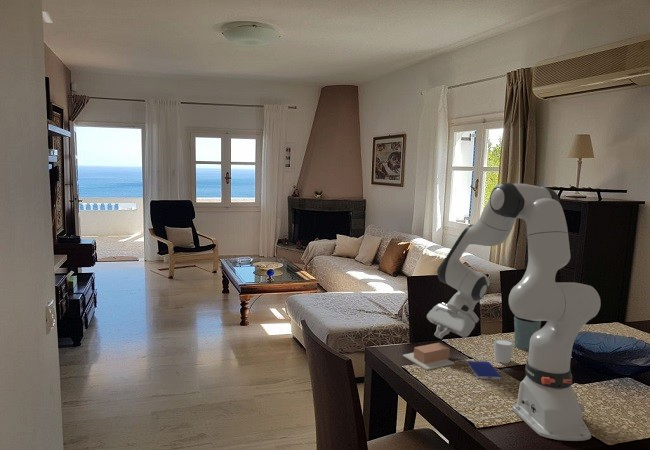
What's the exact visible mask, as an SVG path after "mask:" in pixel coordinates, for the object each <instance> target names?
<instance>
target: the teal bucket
mask: <svg viewBox="0 0 650 450" xmlns="http://www.w3.org/2000/svg"><path fill="white" fill-rule="evenodd" d="M513 320H514V321H513V323H514V324H513V326H514V346H515V348H516V347H517V349H518V348H519V349H518V350H521V349H522V350H521V351H525V350H526V352H529V344H530V338H531V336H532V335H533V334H534V333H535V332H536V331H538V330H540V329H541V327H542V326H541V325H542V321H532V320H526V319H522V318H518V317H516V316H515V315H514V317H513Z"/></svg>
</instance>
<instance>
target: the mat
mask: <svg viewBox="0 0 650 450" xmlns="http://www.w3.org/2000/svg"><path fill="white" fill-rule="evenodd" d="M402 357H404V358H405V359H407V361H408V360H409V361H410V362H412V363H414V364H415V365H417V366H419V367H421V368H422V369H423V370H425V371H429V370H434V369H439V368H443V367H448V366H451V365H452V366H453V365H455V364H456V363H455V362H454V361H452V360H450V359H449V358H448V359H444V360H439V361H434V362H430V363H425V364H424V363H422V362H420V361H419V360H417V359H415V358H414V352H410V353H405V354H402Z"/></svg>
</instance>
